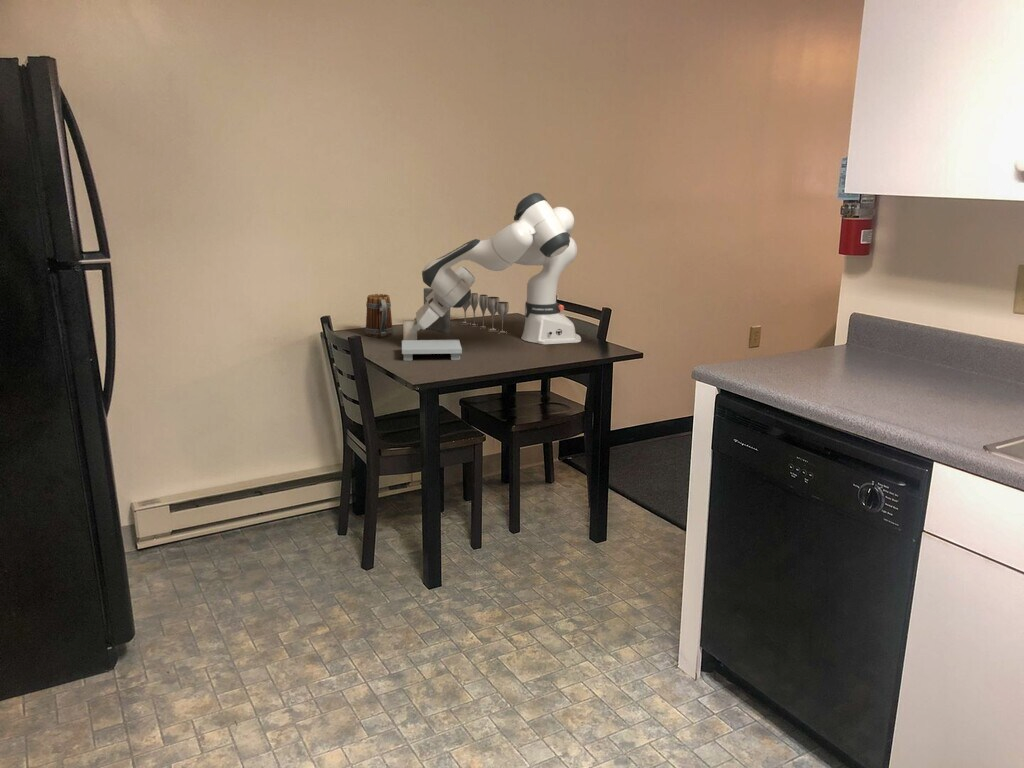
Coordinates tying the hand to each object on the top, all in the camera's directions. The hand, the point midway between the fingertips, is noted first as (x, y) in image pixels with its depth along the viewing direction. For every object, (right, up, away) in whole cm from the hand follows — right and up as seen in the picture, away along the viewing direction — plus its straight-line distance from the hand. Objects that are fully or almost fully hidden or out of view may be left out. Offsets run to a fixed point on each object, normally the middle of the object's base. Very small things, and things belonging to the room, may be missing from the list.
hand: (410, 330), depth 290 cm
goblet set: (+25, +3, +34) cm, 42 cm away
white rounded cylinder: (0, -5, +2) cm, 6 cm away
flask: (+7, +2, +28) cm, 29 cm away
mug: (-13, -1, +16) cm, 20 cm away
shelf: (+9, -10, -13) cm, 18 cm away
